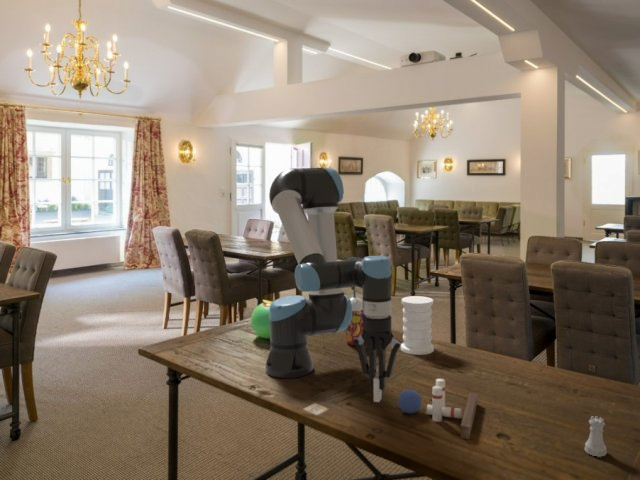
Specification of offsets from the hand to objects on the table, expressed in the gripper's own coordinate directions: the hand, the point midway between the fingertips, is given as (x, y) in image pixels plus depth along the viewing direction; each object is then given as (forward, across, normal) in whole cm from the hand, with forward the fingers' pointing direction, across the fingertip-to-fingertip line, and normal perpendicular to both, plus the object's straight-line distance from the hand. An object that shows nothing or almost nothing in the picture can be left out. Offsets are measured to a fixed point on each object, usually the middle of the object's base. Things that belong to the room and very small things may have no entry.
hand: (377, 399), depth 145 cm
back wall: (+2, +24, 0) cm, 24 cm away
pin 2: (+2, +16, -2) cm, 17 cm away
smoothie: (+2, -22, +49) cm, 54 cm away
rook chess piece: (+2, +52, -7) cm, 53 cm away
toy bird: (+2, -54, +46) cm, 71 cm away
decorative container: (+2, +1, +49) cm, 49 cm away
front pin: (+1, +13, 0) cm, 13 cm away
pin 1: (+2, +16, +2) cm, 17 cm away
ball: (-1, +9, -1) cm, 9 cm away
